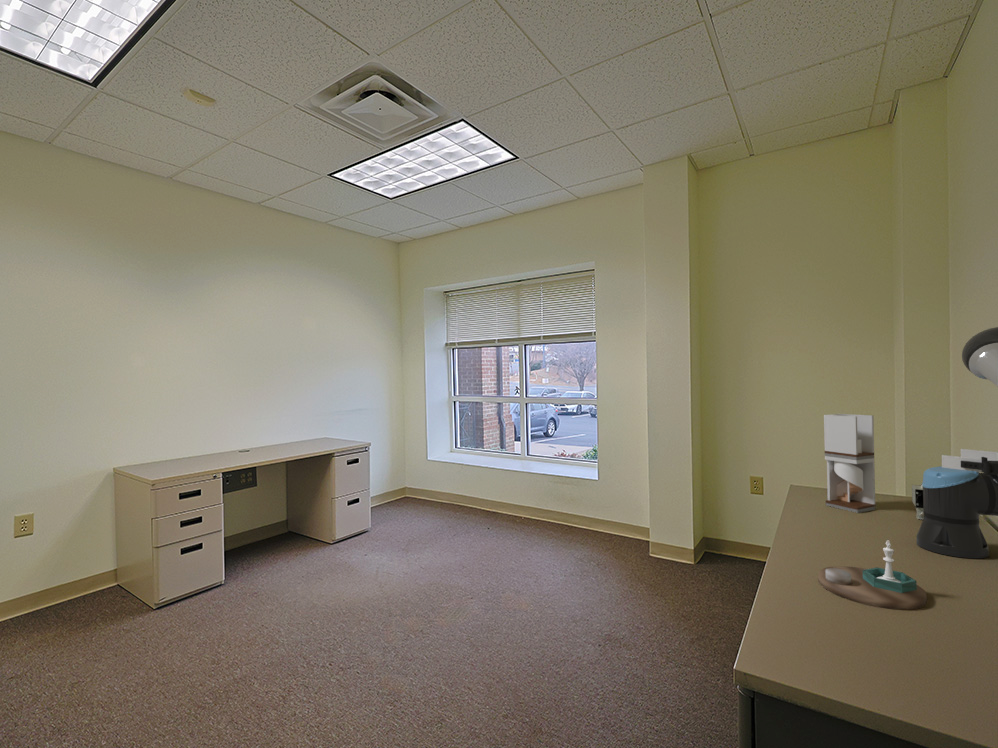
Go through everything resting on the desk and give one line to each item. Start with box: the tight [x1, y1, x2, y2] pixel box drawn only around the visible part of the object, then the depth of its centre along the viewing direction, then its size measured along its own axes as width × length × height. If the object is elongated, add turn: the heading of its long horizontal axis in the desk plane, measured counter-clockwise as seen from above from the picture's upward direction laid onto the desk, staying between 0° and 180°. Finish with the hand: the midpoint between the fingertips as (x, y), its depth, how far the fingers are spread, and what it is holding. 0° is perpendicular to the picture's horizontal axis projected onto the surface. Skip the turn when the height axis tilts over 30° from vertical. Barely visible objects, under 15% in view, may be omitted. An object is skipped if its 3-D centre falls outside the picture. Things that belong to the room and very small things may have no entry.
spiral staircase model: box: [823, 413, 876, 514], centre depth 184 cm, size 11×11×35 cm
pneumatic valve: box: [911, 483, 924, 521], centre depth 168 cm, size 6×12×12 cm, turn 145°
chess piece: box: [877, 539, 901, 583], centre depth 112 cm, size 5×5×10 cm
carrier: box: [817, 565, 928, 611], centre depth 113 cm, size 20×20×4 cm
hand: (951, 457), depth 112 cm, fingers open, 13 cm apart
